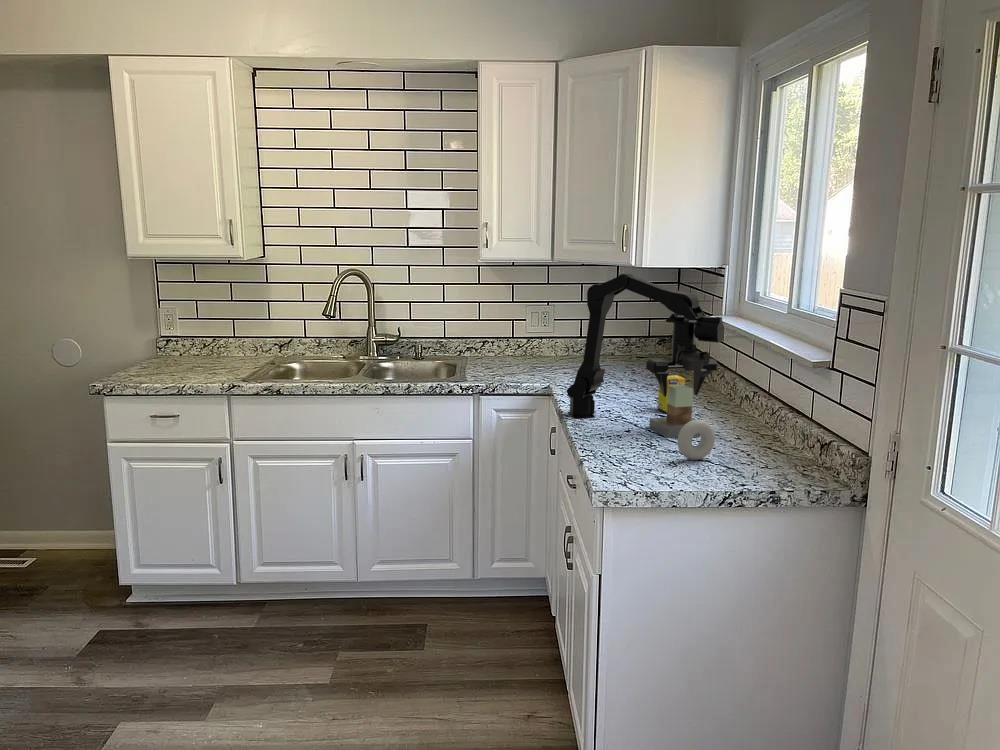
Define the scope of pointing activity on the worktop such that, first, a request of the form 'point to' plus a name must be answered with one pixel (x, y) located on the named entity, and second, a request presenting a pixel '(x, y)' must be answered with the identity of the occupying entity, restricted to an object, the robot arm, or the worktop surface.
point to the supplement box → (663, 400)
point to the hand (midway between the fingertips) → (680, 395)
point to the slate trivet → (667, 427)
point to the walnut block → (679, 414)
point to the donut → (705, 442)
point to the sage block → (680, 395)
